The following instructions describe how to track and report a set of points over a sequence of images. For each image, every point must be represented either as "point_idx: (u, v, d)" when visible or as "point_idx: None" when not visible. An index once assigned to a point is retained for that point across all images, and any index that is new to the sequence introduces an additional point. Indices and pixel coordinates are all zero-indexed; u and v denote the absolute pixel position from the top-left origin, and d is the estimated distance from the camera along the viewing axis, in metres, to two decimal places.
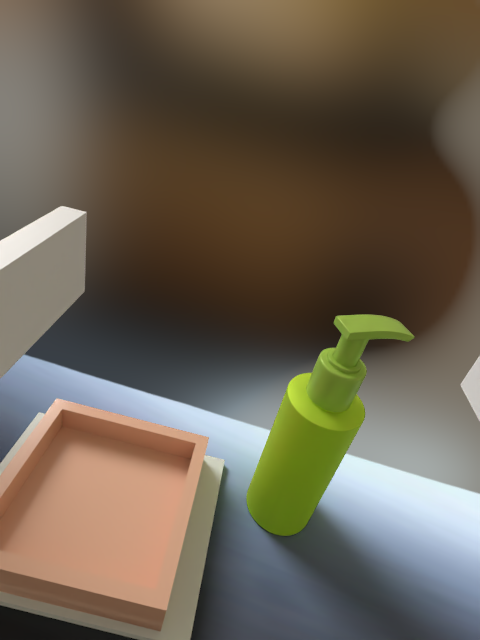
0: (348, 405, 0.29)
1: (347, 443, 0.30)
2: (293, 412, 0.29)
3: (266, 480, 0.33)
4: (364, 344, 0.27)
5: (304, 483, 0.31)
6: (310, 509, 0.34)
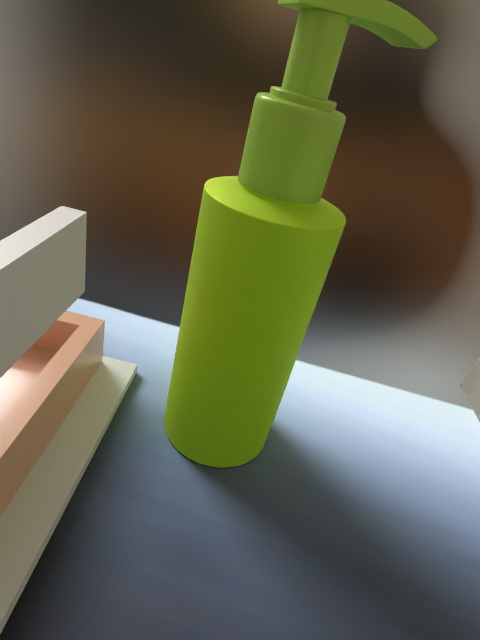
0: (313, 191, 0.15)
1: (313, 268, 0.16)
2: (211, 206, 0.15)
3: (182, 366, 0.19)
4: (338, 34, 0.13)
5: (240, 357, 0.17)
6: (259, 417, 0.20)
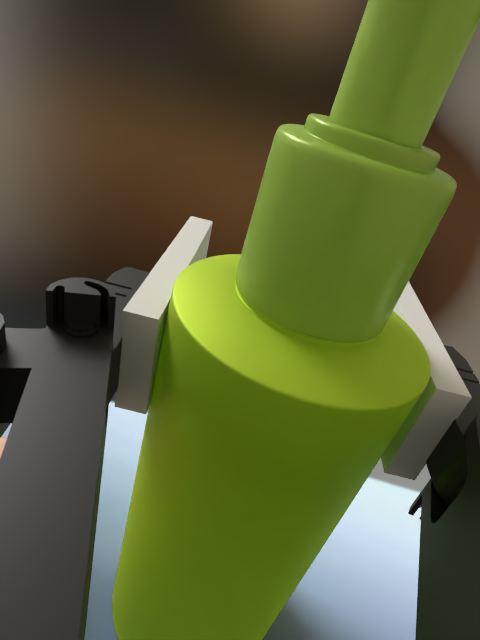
0: (380, 319, 0.08)
1: (372, 458, 0.08)
2: (181, 341, 0.08)
3: (133, 558, 0.12)
4: (473, 9, 0.06)
5: (228, 582, 0.10)
6: (257, 635, 0.12)
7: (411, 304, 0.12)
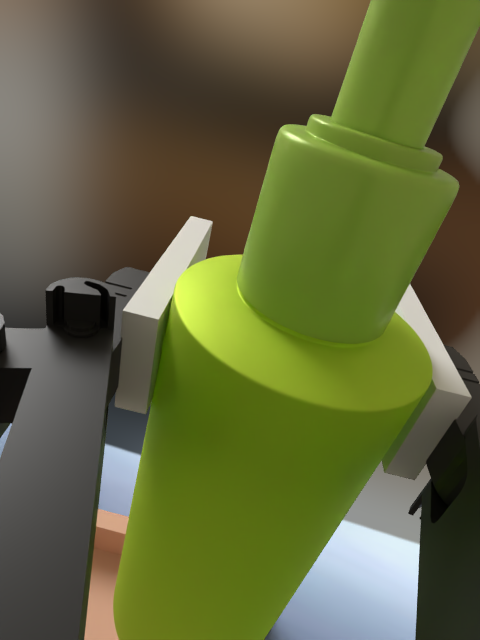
0: (382, 320, 0.08)
1: (374, 460, 0.08)
2: (182, 342, 0.08)
3: (135, 559, 0.12)
4: (476, 9, 0.06)
5: (229, 583, 0.10)
6: (258, 636, 0.12)
7: (411, 304, 0.12)
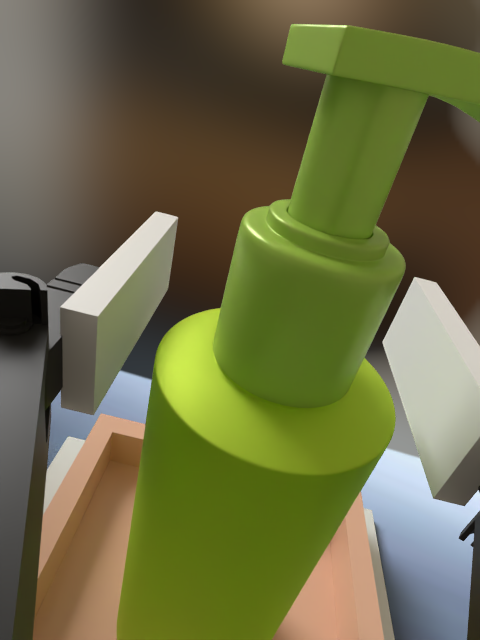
0: (343, 385, 0.09)
1: (342, 509, 0.09)
2: (162, 409, 0.09)
3: (132, 592, 0.13)
4: (405, 128, 0.07)
5: (217, 618, 0.11)
6: None
7: (452, 321, 0.12)
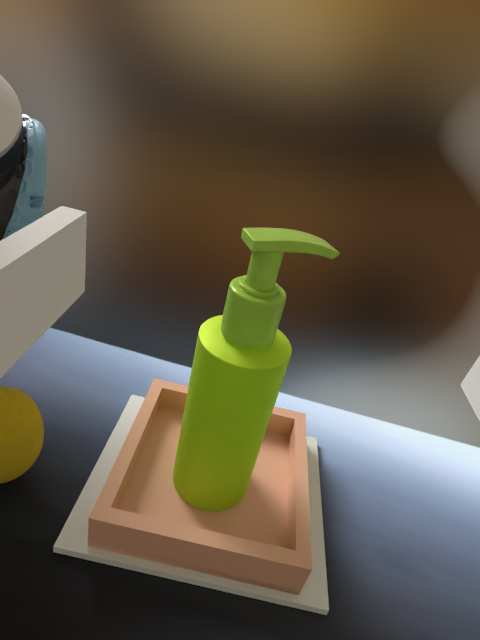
0: (267, 341, 0.24)
1: (269, 388, 0.25)
2: (202, 351, 0.24)
3: (185, 443, 0.28)
4: (276, 259, 0.22)
5: (223, 441, 0.26)
6: (239, 477, 0.29)
7: None
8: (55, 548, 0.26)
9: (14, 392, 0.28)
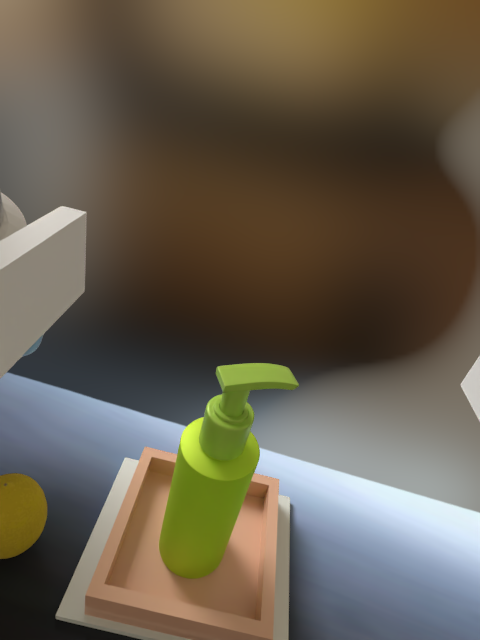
0: (237, 453, 0.29)
1: (239, 490, 0.29)
2: (183, 460, 0.29)
3: (169, 524, 0.33)
4: (244, 395, 0.27)
5: (201, 529, 0.31)
6: (215, 553, 0.33)
7: None
8: (57, 616, 0.31)
9: (22, 481, 0.32)
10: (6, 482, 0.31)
